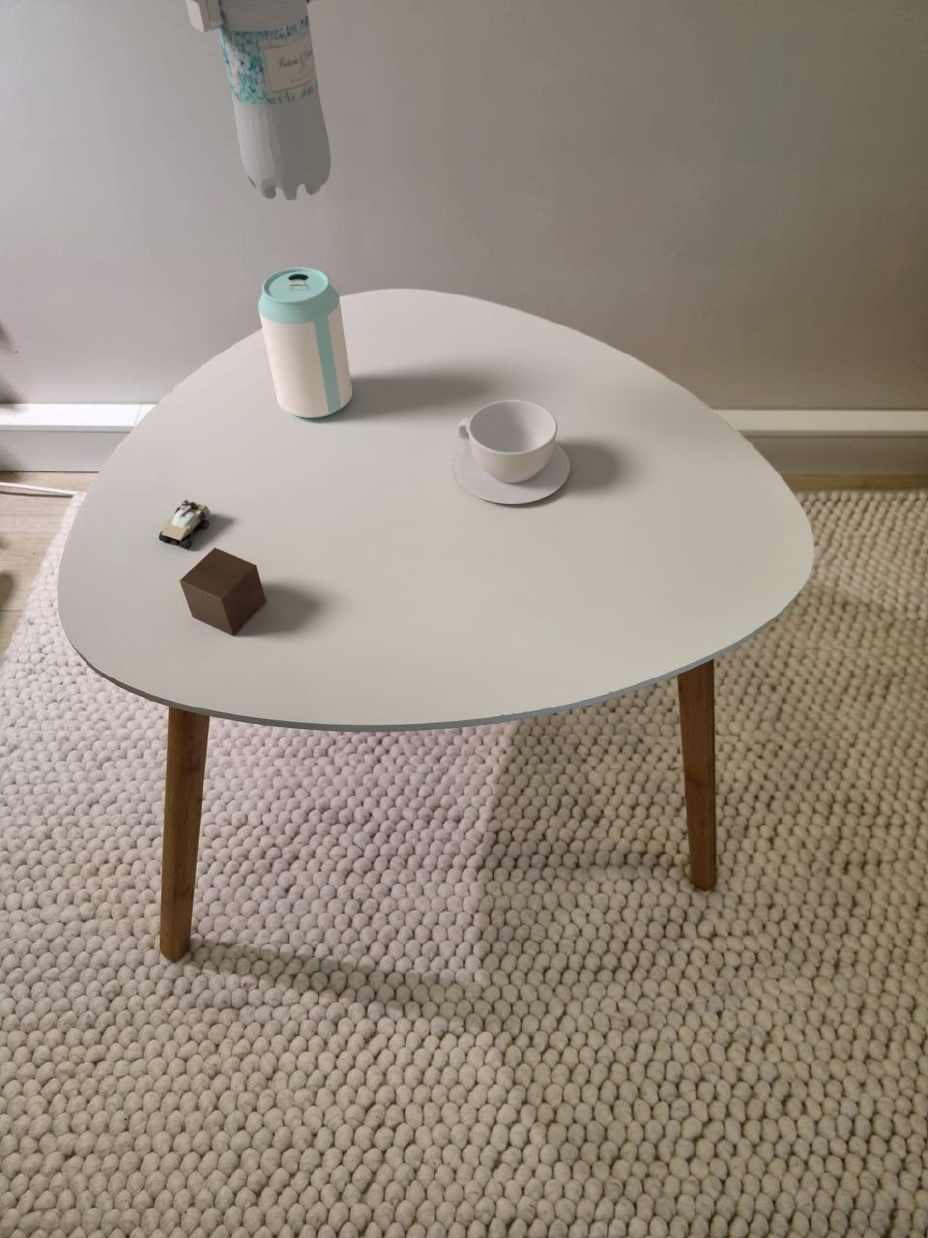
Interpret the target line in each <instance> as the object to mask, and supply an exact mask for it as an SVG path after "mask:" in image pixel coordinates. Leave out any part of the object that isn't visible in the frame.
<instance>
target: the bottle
mask: <svg viewBox="0 0 928 1238" xmlns="http://www.w3.org/2000/svg"><path fill="white" fill-rule="evenodd" d="M220 4H221V12H220V14H221V15H222V17H223V20H224V27H222V28H219V29H217V30H218V35H219V41H220V44H221V50H222V54H223V59H224V64H225V69H226V74H227V80H228V84H229V90H230V94H231V98H232V99H231V100H232V103H233V109H234V116H235V126H236V132H237V139H238V145H239V152H240V158H241V161H242V166H243V168H244V173H245V176H246V177H247V179H248V181H249V183H250V184H251V185H252V187H253V188H254V189H256V190H258V192H259V194H261V196H263V197H264V198H266V199H269V200H272V199H275V197H276V196H277V191H276V190H277V189H276V188H278V189H280V191H281V192H282V195H283V196H284V197H285V200H287V201H295V200H296V199H297V197H298V196H297V195H298V188H299V187H300V186H301V185H304V188H305V191H306V193H307V194H308V195H310V196H314V195H315V194H317V193H318V192H319V191H320V190H321V188H322V186H323V185H325V184H326V183H327V181H328V180H329V178H330V174H331V168H332V157H331V149H330V142H329V136H328V131H327V126H326V122H325V117H324V112H323V108H322V103H321V98H320V97H321V96H320V93H319V83H318V77H317V75H318V74H317V70H316V69H317V68H316V62H315V55H314V47H313V40H312V33H311V27H310V19H309V13H308V7H307V5H308V4H307V0H220Z"/></svg>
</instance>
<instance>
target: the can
mask: <svg viewBox="0 0 928 1238" xmlns="http://www.w3.org/2000/svg"><path fill="white" fill-rule="evenodd" d="M330 281H331V280H330V278H329V276H328V275H327V274H326V273H325V272H323V271H321V270H319V269H316V268H312V267H303V266H302V267H290V268H285V269H281V270H279V271H277V272H274V273H272V274H271V275H269V276H268V277H267V278H266V279H265V280H264V281H263V283H262V285H261V291H262V293H261V296H260V298H259V299H258V303H257V310H258V313H259V318H260V319H259V320H260V323H261V328H262V333H263V337H264V343H265V348H266V351H267V357H268V362H269V366H270V371H271V376H272V381H273V386H274V390H275V394H276V399H277V403H278V405H279V407H280V408H281V409H282V410H283V411H285V412H286V413H288V414H290V415H292V416H294V417H295V416H296V417H300V418H304V419H321V418H324V417H328V416H330V415H333V414H335V413H336V412H338V411H340V410H342V409H343V407H345V406H346V405H347V404H348V403H349V402H350V401H351V399H352V396H353V385H352V379H351V372H350V363H349V357H348V349H347V344H346V343H347V342H346V336H345V328H344V322H343V321H344V320H343V314H342V306H341V300H340V295H339V293H338V291H337V290H336V289H335V288H334V287H333V285H331V282H330Z"/></svg>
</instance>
